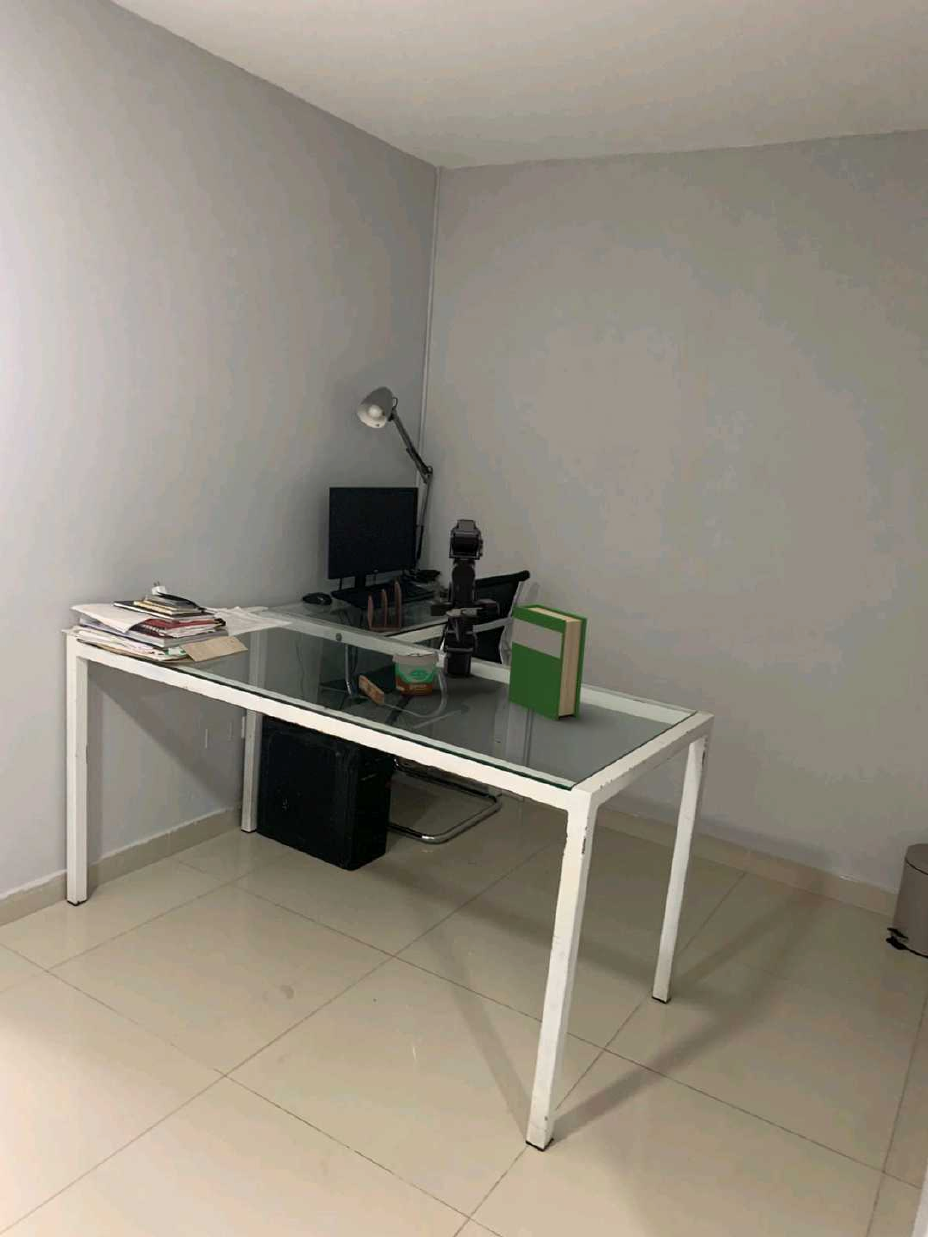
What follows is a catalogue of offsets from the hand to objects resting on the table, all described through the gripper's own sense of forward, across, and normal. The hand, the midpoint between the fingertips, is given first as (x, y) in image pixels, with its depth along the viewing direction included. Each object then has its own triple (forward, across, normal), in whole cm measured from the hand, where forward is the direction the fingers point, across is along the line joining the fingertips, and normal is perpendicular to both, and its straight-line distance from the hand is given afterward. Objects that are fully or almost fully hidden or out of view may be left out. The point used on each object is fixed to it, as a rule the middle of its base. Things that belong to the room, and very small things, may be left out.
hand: (459, 641), depth 235 cm
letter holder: (+13, -7, -76) cm, 77 cm away
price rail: (+13, +23, 0) cm, 26 cm away
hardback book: (+13, -14, +19) cm, 27 cm away
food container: (+13, +10, 0) cm, 17 cm away
